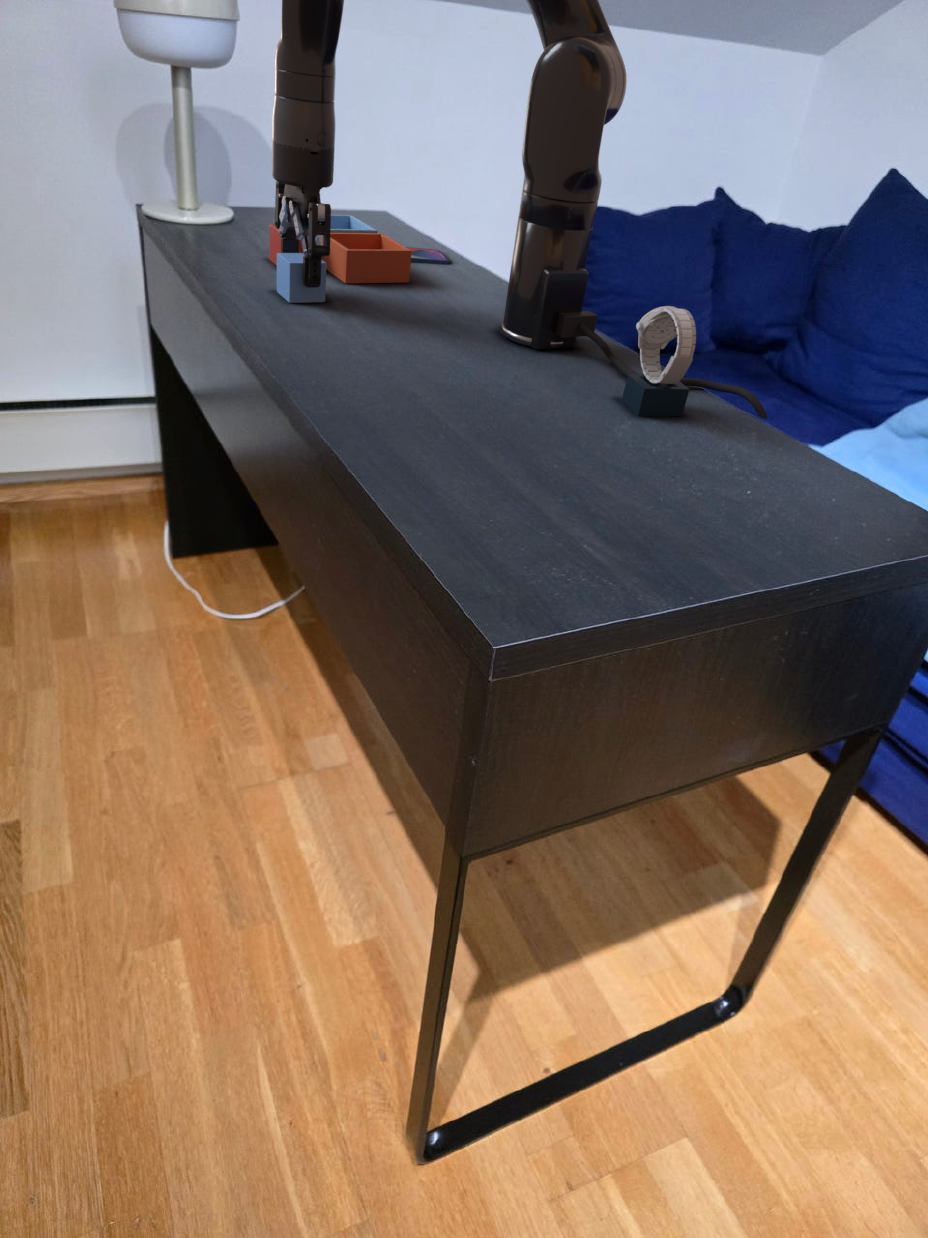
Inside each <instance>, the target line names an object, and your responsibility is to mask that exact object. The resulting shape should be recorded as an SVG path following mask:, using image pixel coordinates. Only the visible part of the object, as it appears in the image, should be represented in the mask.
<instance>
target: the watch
mask: <svg viewBox="0 0 928 1238" xmlns="http://www.w3.org/2000/svg"><path fill="white" fill-rule="evenodd" d="M635 328H636V330H637V333H638V338H637V341H638V342H637V345H638V349H639V358H640V359H639V361H640V367H641V370H642V373H639V374H628V376H627V377H626V380H625V384H624V389H623V393H622V397H621V402H622V403H624V405H626V406H627V407H628V408H629V410H631V411H632V412H633V413H634V414H635V415H636V416H638V417H683V416H684V415H683V414H684V410H685V408H686V403H687V401H688V400H687V399H688V397H689V393H690V388H689V387H688V386H685V385H684V384H682V383H681V382H680V380H681V379H682V378H684V376H685V375H686V373H687V372H688V370H689V369H690V366H691V365H692V362H693V361H694V357H693V356H694V354H695V349H696V343H697V327H696V322H695V319H694V317H693V314H692V313H691V312H690V311H689V310H687V309H686V308H678V307H676V306H673V305H665V306H658V307H656V308H653V309H652V310H650V311H648V312H647V313H645V314H644V315H643V316H642V317H641V319H639V321H637V322H636V325H635ZM675 338H676V339H677V340H676V343H677V344H676V349H675V352H674V355H671V357H670V358H669V360H668V363H667V364H666V367H665V368H664V369H663V371H662V366H661V355H660V353H661V350H664V349H665V348H666V346H667V345H669V342H671V341H672V340H674V339H675Z"/></svg>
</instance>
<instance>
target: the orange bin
mask: <svg viewBox="0 0 928 1238" xmlns="http://www.w3.org/2000/svg"><path fill="white" fill-rule="evenodd" d="M322 239H323V238H322ZM406 247H407V246H404V245H403V244H401V243H399V242H398V241H396V240H394V239H392V238H391V237H389V236H388V235H386V234H384V233H383V232H381V233H379V232H377V233H330V255H329V256H324V257H321V258H322V260H323V261H324V262H325V263H326V271H328V272H329V273H330V274H332V275H333V276H335V278H337V279H339V280H340V281H341V282H343V283H344V284H384V283H385V284H386V283H387V284H392V283H393V284H395V283H396V284H398V283H399V284H400V283H410V275H411V265H412V262H411V253H412V251H411V250H410V249H408V248H406Z"/></svg>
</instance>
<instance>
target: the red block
mask: <svg viewBox="0 0 928 1238" xmlns="http://www.w3.org/2000/svg"><path fill="white" fill-rule="evenodd" d="M281 238H283V237H280V235H279V229H276V227H275V223H274V224H272V223H271V224H269V261H270V262H271V263H273V264H274V265H275V266H277V253H281ZM297 239H298V238H297ZM299 253H303V248H302V243H301V240H299Z"/></svg>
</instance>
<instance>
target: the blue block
mask: <svg viewBox="0 0 928 1238" xmlns="http://www.w3.org/2000/svg"><path fill="white" fill-rule="evenodd" d="M303 256H304V254H303V253H277V265H276V293H277V294H279V296H281V297H282V298H283V299H284V300H285V301H287V302H288V303H289V304H301V303H303V304H304V303H305V304H306V303H326V293H327V292H326V291H327V290H326V287H327V269H326V263H325V262H324V261H323V260H321V284H320V286H319V287H314V288H308V287H305V286H304V285H303Z"/></svg>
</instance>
